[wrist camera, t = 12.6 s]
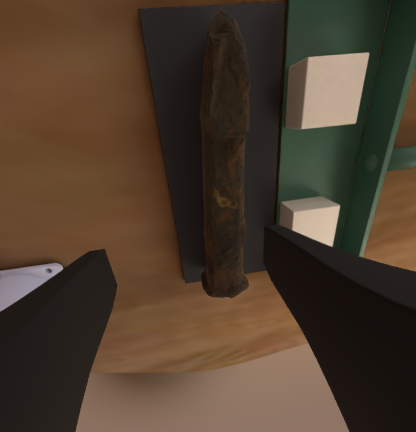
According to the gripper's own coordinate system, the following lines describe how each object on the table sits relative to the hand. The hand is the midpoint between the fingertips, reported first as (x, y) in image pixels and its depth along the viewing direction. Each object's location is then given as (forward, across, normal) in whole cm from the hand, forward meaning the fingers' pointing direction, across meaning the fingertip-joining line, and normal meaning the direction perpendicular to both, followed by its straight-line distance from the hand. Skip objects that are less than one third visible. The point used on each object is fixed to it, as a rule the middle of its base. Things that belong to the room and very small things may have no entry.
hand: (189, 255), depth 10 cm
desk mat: (+9, -3, -1) cm, 10 cm away
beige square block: (+9, -10, +4) cm, 14 cm away
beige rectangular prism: (+9, -10, -6) cm, 15 cm away
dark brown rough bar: (+9, -2, -1) cm, 9 cm away
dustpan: (+9, -16, -1) cm, 19 cm away
